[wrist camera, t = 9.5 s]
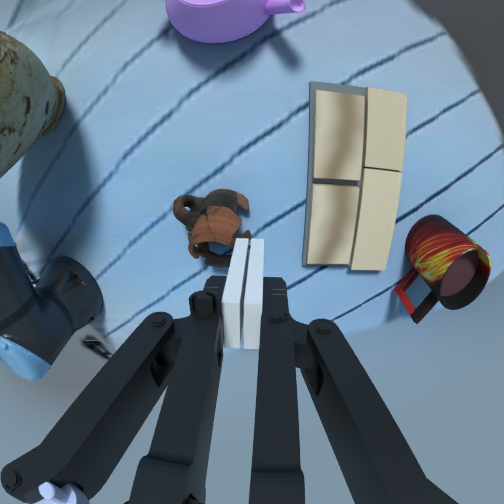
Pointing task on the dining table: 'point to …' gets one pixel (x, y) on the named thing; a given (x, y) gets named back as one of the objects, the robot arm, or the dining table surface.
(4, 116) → the vase
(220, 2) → the teapot
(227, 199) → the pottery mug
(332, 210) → the plank far
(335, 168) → the plank near
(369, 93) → the floor panel
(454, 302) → the mug
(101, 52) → the dining table surface
